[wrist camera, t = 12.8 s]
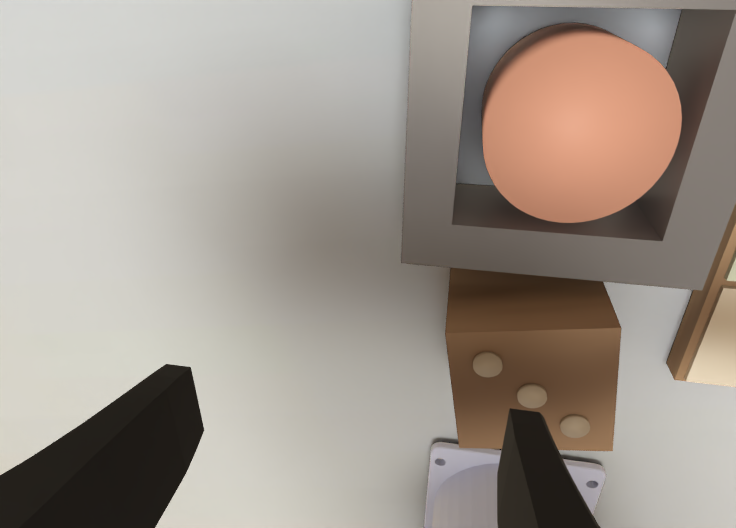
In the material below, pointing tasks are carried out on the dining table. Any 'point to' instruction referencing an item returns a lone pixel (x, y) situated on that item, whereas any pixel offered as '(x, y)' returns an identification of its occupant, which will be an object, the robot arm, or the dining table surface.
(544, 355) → the die
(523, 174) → the plunger
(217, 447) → the dining table surface
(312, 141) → the dining table surface
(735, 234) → the track board
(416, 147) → the frame
